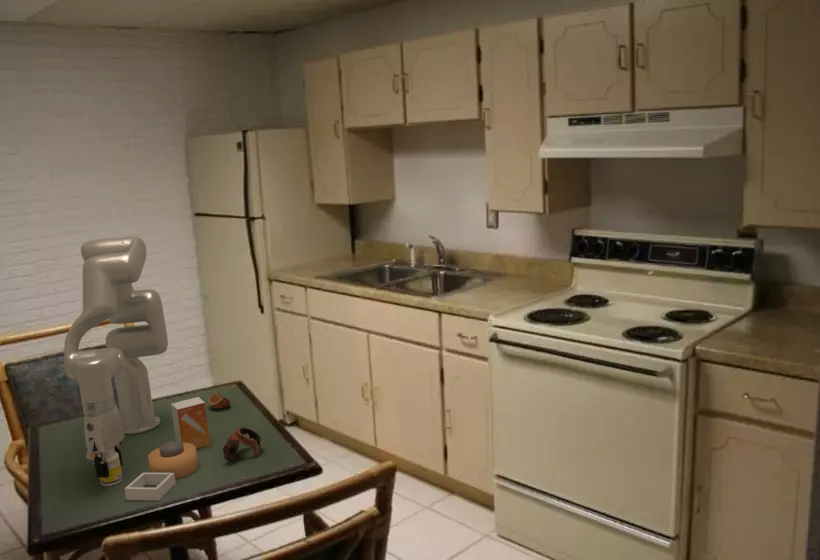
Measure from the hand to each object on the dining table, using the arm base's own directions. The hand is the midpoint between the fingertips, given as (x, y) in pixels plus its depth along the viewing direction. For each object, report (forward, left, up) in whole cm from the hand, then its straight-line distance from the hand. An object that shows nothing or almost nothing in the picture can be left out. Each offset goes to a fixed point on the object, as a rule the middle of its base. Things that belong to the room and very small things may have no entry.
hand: (109, 470), depth 189 cm
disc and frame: (+14, +1, -3) cm, 14 cm away
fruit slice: (+7, +51, -3) cm, 52 cm away
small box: (+12, +22, -3) cm, 25 cm away
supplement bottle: (0, 0, -3) cm, 3 cm away
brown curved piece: (+29, +16, -3) cm, 33 cm away
